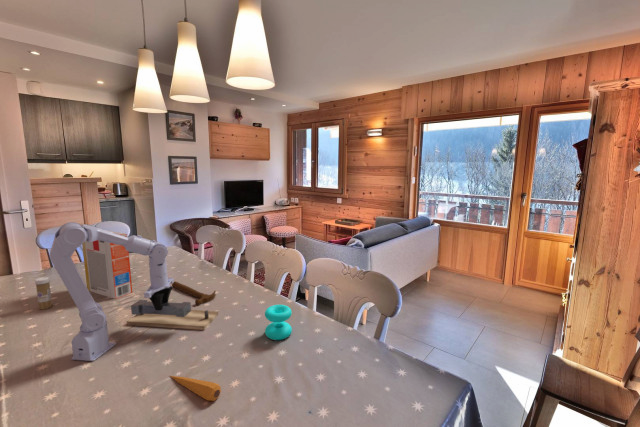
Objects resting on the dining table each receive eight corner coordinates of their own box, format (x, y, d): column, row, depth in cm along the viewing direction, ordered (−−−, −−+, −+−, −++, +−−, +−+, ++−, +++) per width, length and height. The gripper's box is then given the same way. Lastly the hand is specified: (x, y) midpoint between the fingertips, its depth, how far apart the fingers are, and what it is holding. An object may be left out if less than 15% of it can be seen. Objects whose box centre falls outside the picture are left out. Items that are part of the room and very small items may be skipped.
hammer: (166, 289, 151) (198, 306, 133) (165, 284, 150) (198, 300, 132) (188, 283, 160) (220, 298, 142) (187, 277, 160) (220, 292, 142)
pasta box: (132, 292, 146) (127, 233, 142) (115, 299, 139) (109, 237, 134) (104, 284, 156) (98, 229, 151) (87, 290, 148) (80, 232, 144)
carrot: (221, 400, 80) (225, 382, 81) (209, 405, 76) (212, 386, 77) (174, 382, 89) (177, 366, 90) (160, 385, 86) (164, 368, 87)
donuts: (289, 301, 116) (293, 313, 106) (289, 325, 117) (294, 339, 108) (263, 304, 113) (265, 317, 103) (264, 328, 114) (266, 343, 105)
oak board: (204, 329, 113) (203, 319, 113) (127, 324, 116) (126, 314, 116) (218, 314, 125) (217, 304, 124) (147, 310, 128) (146, 300, 127)
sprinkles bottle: (36, 310, 127) (32, 280, 125) (42, 305, 131) (38, 277, 129) (49, 309, 128) (45, 279, 126) (55, 304, 133) (51, 276, 131)
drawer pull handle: (184, 317, 110) (183, 308, 109) (131, 314, 112) (130, 305, 111) (191, 310, 114) (190, 302, 114) (140, 308, 117) (140, 299, 116)
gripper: (156, 281, 103) (159, 317, 105) (179, 267, 117) (181, 299, 119) (137, 280, 104) (140, 316, 106) (163, 267, 118) (165, 299, 120)
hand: (161, 307), depth 113 cm, fingers closed on drawer pull handle, 3 cm apart
